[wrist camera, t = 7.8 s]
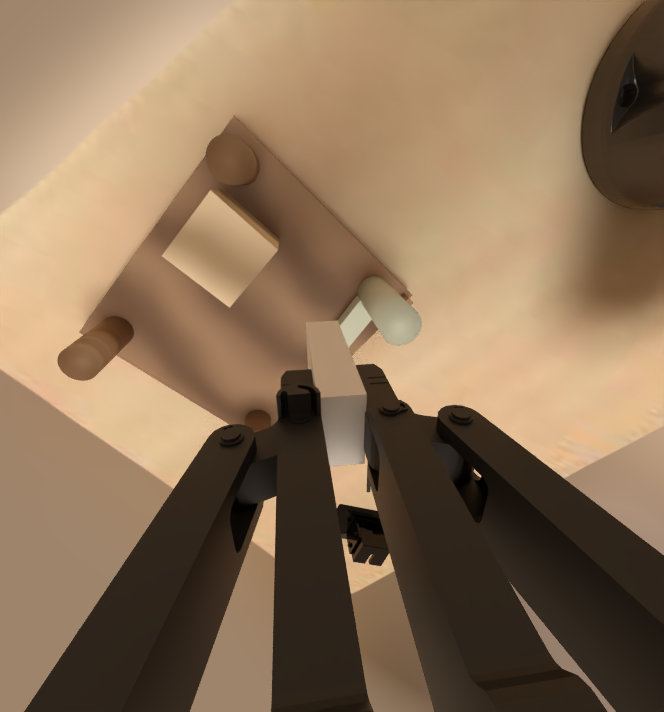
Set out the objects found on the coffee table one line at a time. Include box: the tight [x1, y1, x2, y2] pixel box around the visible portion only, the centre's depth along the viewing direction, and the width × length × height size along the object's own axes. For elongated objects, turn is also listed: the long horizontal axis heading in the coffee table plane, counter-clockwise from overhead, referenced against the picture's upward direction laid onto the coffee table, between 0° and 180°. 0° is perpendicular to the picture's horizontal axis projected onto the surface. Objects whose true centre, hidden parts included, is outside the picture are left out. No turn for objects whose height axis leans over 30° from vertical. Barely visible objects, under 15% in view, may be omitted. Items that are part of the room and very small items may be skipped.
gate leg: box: [337, 276, 421, 348], centre depth 26 cm, size 6×3×8 cm, turn 142°
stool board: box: [58, 116, 413, 432], centre depth 27 cm, size 20×18×8 cm
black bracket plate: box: [337, 504, 390, 566], centre depth 42 cm, size 12×7×5 cm, turn 68°
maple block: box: [162, 189, 279, 308], centre depth 24 cm, size 5×5×5 cm
